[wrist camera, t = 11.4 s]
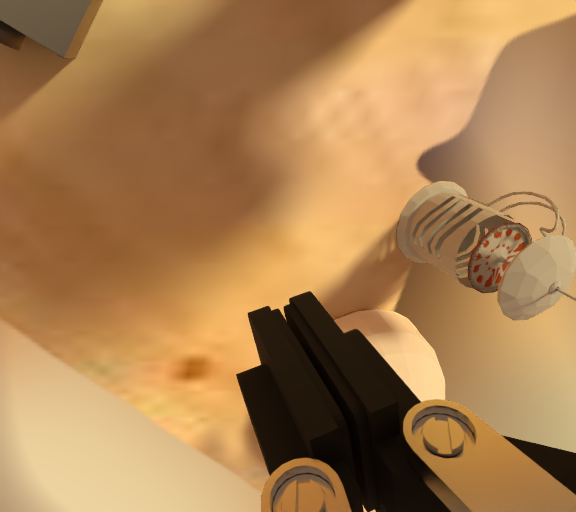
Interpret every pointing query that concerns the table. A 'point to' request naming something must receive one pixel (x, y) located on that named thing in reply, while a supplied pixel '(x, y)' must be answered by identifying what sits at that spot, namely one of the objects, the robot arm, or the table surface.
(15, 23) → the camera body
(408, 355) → the kettle
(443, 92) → the table surface
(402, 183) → the table surface
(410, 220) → the french press
